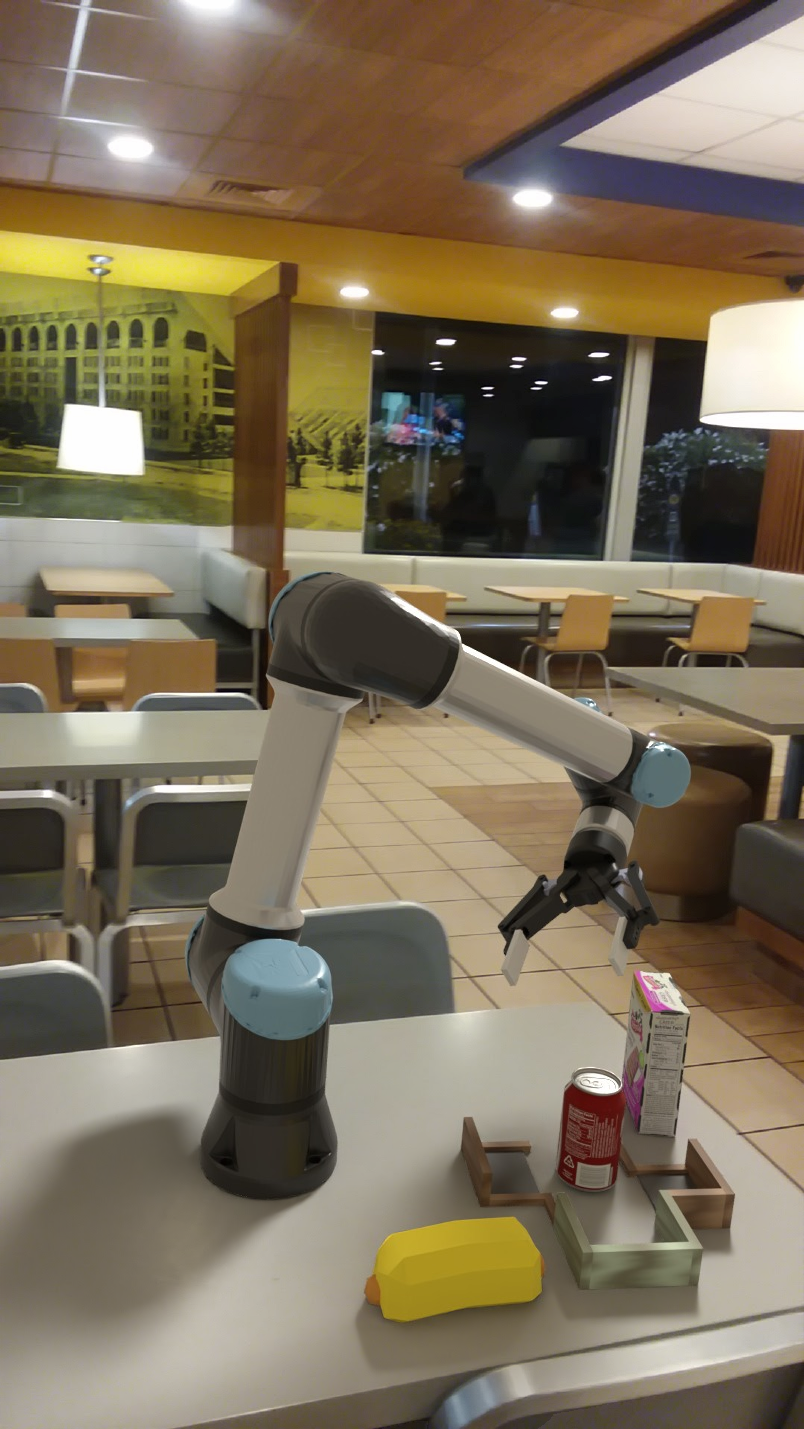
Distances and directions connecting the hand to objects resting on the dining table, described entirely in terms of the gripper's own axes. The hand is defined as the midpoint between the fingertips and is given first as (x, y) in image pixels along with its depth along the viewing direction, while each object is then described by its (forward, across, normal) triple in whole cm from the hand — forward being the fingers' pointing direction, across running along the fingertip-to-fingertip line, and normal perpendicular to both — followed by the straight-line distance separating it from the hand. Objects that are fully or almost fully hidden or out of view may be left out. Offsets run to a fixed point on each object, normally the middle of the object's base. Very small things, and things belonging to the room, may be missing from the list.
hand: (560, 972), depth 122 cm
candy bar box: (-2, +1, -27) cm, 27 cm away
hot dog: (+35, +5, -6) cm, 35 cm away
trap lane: (+18, -2, -17) cm, 25 cm away
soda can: (+14, +2, -18) cm, 23 cm away
